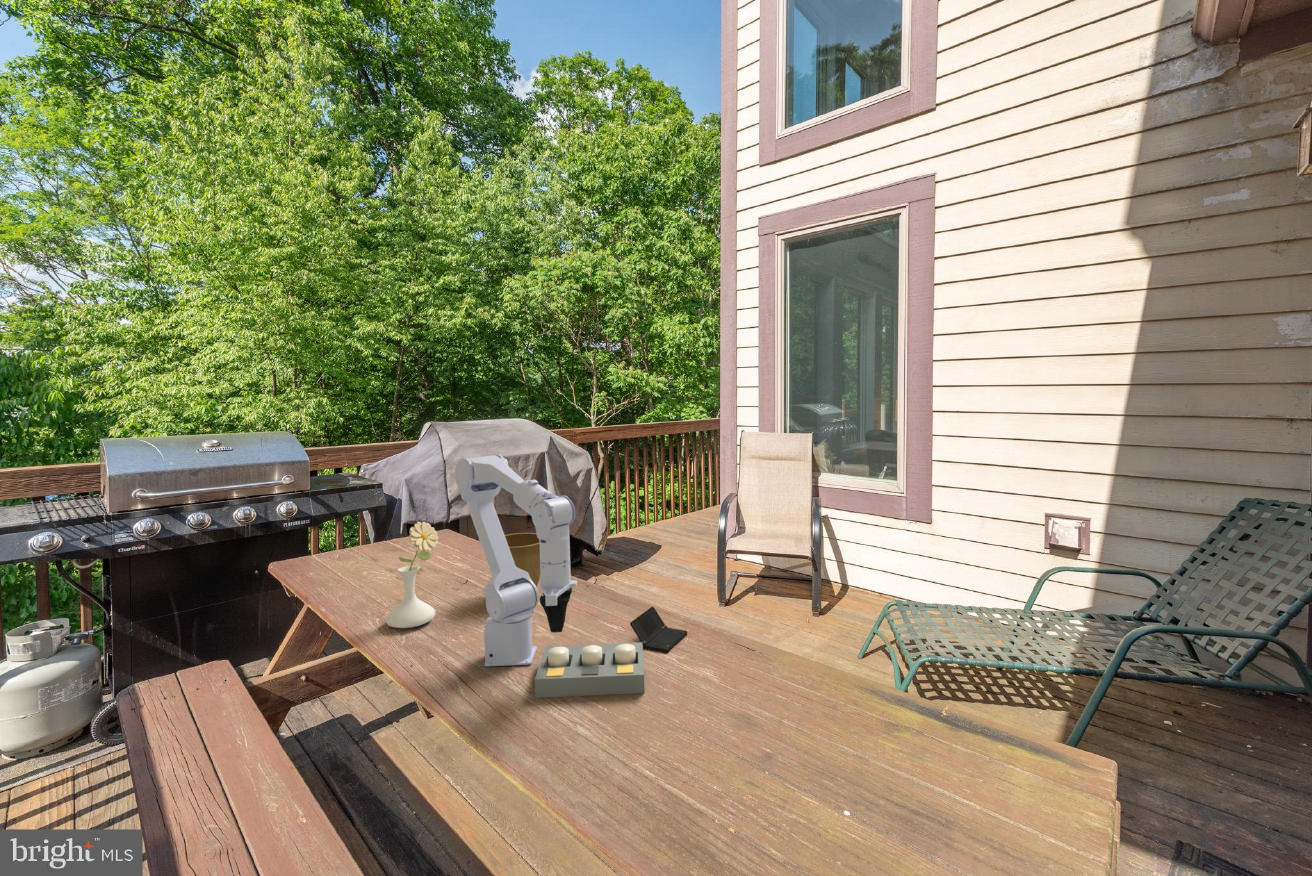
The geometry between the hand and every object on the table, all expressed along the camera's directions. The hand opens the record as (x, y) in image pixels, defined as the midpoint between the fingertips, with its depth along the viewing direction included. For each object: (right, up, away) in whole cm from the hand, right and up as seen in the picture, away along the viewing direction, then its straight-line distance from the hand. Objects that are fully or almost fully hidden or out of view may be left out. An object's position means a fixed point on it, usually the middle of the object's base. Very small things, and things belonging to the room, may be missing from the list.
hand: (557, 629), depth 110 cm
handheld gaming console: (+20, -9, +18) cm, 28 cm away
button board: (+7, -10, +1) cm, 12 cm away
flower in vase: (-41, -9, +31) cm, 52 cm away
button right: (+13, -7, +1) cm, 15 cm away
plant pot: (-19, -7, +49) cm, 53 cm away
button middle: (+7, -7, +1) cm, 10 cm away
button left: (0, -7, +1) cm, 7 cm away
